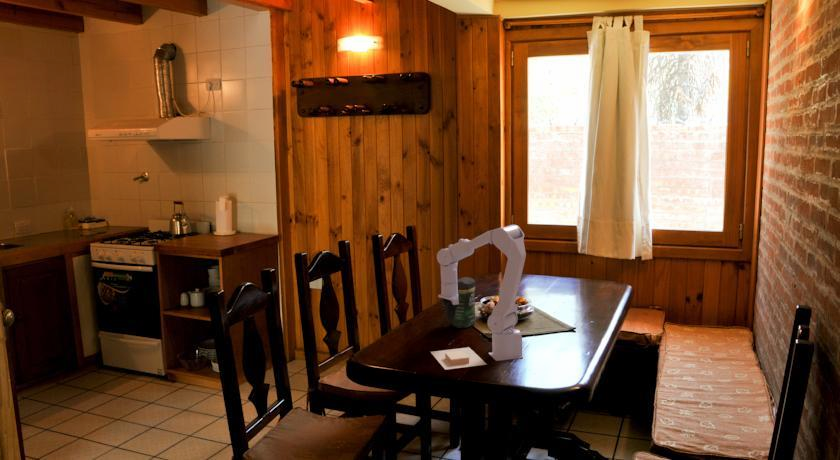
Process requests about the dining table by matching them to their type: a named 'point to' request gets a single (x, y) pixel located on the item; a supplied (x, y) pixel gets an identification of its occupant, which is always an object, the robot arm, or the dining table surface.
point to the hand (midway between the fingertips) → (450, 319)
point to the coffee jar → (465, 303)
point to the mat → (473, 361)
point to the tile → (456, 357)
